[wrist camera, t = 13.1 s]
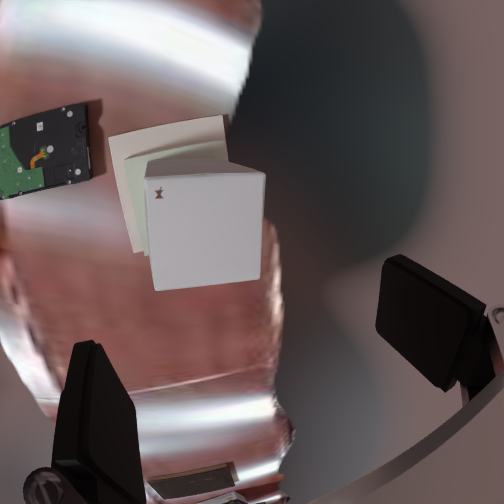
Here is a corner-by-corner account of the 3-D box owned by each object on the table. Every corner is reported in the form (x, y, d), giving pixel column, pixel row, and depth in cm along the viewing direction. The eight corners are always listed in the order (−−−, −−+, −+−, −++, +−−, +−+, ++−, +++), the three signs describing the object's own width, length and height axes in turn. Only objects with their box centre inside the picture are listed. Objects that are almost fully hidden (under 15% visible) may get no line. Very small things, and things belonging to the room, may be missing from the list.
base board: (109, 137, 34) (108, 137, 33) (220, 115, 37) (222, 115, 36) (134, 250, 40) (133, 253, 39) (236, 226, 44) (237, 228, 43)
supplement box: (149, 233, 29) (150, 294, 18) (146, 159, 27) (141, 173, 15) (220, 228, 31) (262, 282, 20) (221, 157, 29) (268, 170, 18)
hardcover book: (146, 475, 61) (147, 482, 59) (226, 460, 67) (228, 467, 65) (163, 494, 67) (164, 500, 65) (233, 481, 73) (235, 486, 71)
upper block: (127, 157, 30) (123, 160, 26) (214, 139, 33) (224, 140, 28) (145, 240, 34) (144, 255, 30) (226, 221, 37) (237, 234, 32)
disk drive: (88, 103, 31) (-3, 129, 27) (84, 100, 29) (-12, 129, 25) (94, 177, 35) (5, 199, 31) (91, 180, 33) (-3, 203, 29)
